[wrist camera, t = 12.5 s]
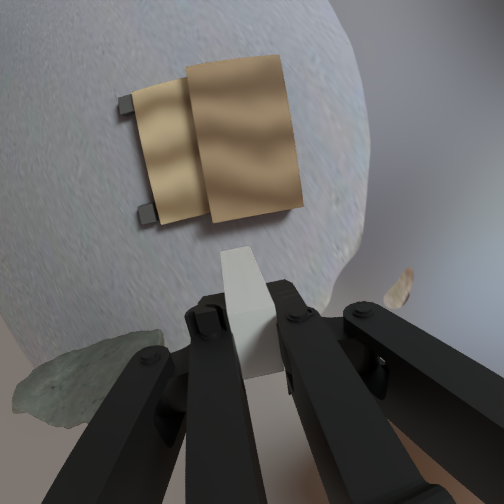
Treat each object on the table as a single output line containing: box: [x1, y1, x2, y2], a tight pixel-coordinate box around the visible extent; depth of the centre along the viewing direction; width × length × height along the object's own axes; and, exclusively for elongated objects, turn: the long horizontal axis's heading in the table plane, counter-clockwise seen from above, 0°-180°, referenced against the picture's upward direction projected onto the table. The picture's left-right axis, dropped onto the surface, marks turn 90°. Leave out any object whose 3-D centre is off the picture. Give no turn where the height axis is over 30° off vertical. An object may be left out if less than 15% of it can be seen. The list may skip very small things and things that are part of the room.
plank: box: [131, 77, 211, 225], centre depth 37 cm, size 18×9×5 cm, turn 11°
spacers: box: [118, 94, 158, 225], centre depth 37 cm, size 17×2×2 cm, turn 9°
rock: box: [12, 329, 164, 429], centre depth 35 cm, size 27×6×20 cm, turn 111°
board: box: [186, 55, 304, 223], centre depth 37 cm, size 20×12×4 cm, turn 9°
